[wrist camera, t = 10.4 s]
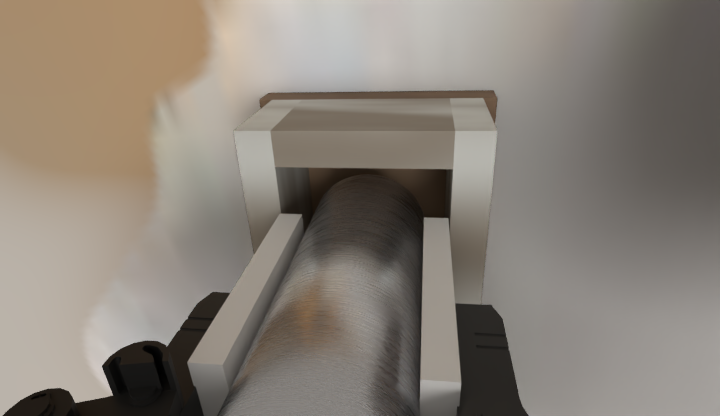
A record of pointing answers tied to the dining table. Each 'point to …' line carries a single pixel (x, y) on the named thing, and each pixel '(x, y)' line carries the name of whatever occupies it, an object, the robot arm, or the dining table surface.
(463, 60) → the dining table surface
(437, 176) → the socket board
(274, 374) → the pin
